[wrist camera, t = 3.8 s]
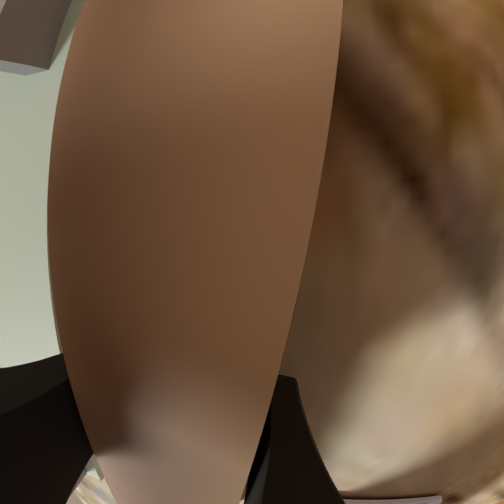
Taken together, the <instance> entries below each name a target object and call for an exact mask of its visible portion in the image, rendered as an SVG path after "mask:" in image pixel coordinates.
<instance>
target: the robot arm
mask: <svg viewBox="0 0 504 504" xmlns="http://www.w3.org/2000/svg"><path fill="white" fill-rule="evenodd" d="M93 454H94V452H93V450H92V447H91V444H90V442H89V439H88V437H87V434H86V431H85V428H84V425H83V423H82V420H81V417H80V414H79V411H78V407H77V404H76V401H75V398H74V394H73V391H72V387H71V383H70V380H69V376H68V372H67V368H66V364H65V360H64V355H63V353H61V354H58V355H54V356H51V357H48V358H45V359H42V360H38V361H35V362H31V363H26V364H22V365H17V366H12V367H6V368H0V504H66V502H67V500H68V498H69V496H70V494H71V492H72V490H73V488H74V486H75V484H76V482H77V481H78V479H79V477H80V475H81V473H82V472H83V470H84V468H85V466H86V465H87V463H88V461H89V460H90V458H91V457H92V455H93ZM441 502H442V496H430V497H421V498H409V499H390V500H351V499H343V498H342V497H341V495H340V493H339V492H338V490H337V488H336V486H335V485H334V483H333V481H332V479H331V477H330V475H329V473H328V471H327V469H326V467H325V465H324V463H323V461H322V458H321V456H320V454H319V452H318V449H317V447H316V444H315V442H314V439H313V437H312V434H311V431H310V428H309V425H308V422H307V419H306V416H305V413H304V409H303V406H302V402H301V398H300V394H299V389H298V383H297V381H296V379H295V378H292V377H287V376H283V375H278V377H277V380H276V384H275V388H274V392H273V395H272V399H271V402H270V406H269V409H268V413H267V416H266V420H265V423H264V427H263V430H262V434H261V437H260V440H259V444H258V447H257V450H256V453H255V457H254V460H253V463H252V466H251V469H250V472H249V476H248V482H247V488H246V495H245V501H244V504H440V503H441Z"/></svg>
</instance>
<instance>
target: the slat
mask: <svg viewBox="0 0 504 504" xmlns="http://www.w3.org/2000/svg"><path fill="white" fill-rule="evenodd" d="M342 12H343V0H85V1H84V4H83V6H82V9H81V12H80V15H79V18H78V21H77V24H76V27H75V30H74V33H73V36H72V40H71V43H70V47H69V50H68V54H67V58H66V62H65V66H64V70H63V75H62V79H61V84H60V89H59V94H58V99H57V105H56V111H55V118H54V125H53V132H52V141H51V151H50V163H49V178H48V244H49V260H50V272H51V282H52V291H53V299H54V306H55V313H56V319H57V325H58V331H59V336H60V341H61V346H62V351H63V355H64V360H65V364H66V368H67V372H68V376H69V380H70V383H71V387H72V391H73V394H74V398H75V401H76V404H77V407H78V411H79V414H80V417H81V420H82V423H83V425H84V428H85V431H86V434H87V437H88V439H89V442H90V444H91V447H92V450H93V452H94V455H95V457H96V459H97V462H98V464H99V466H100V469H101V471H102V473H103V475H104V478H105V480H106V482H107V484H108V486H109V488H110V490H111V492H112V494H113V496H114V498H115V500H116V502H117V504H239V502H240V499H241V497H242V494H243V491H244V488H245V485H246V482H247V479H248V475H249V472H250V469H251V466H252V463H253V460H254V457H255V453H256V450H257V447H258V444H259V440H260V437H261V434H262V430H263V427H264V423H265V420H266V416H267V413H268V409H269V406H270V402H271V399H272V395H273V392H274V388H275V384H276V380H277V377H278V373H279V369H280V365H281V361H282V358H283V354H284V350H285V346H286V342H287V338H288V334H289V330H290V325H291V321H292V317H293V313H294V308H295V304H296V300H297V295H298V291H299V286H300V282H301V277H302V273H303V268H304V263H305V259H306V254H307V249H308V244H309V239H310V234H311V229H312V224H313V219H314V214H315V208H316V203H317V197H318V192H319V186H320V180H321V175H322V169H323V163H324V157H325V150H326V144H327V138H328V131H329V124H330V117H331V110H332V103H333V95H334V88H335V80H336V71H337V63H338V54H339V44H340V34H341V24H342Z"/></svg>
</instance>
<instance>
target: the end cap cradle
mask: <svg viewBox="0 0 504 504" xmlns="http://www.w3.org/2000/svg"><path fill="white" fill-rule="evenodd" d="M84 1H85V0H0V368H6V367H12V366H17V365H22V364H26V363H31V362H35V361H38V360H42V359H45V358H48V357H51V356H54V355H58V354H61V353H63V351H62V346H61V341H60V336H59V331H58V325H57V319H56V313H55V306H54V299H53V291H52V282H51V272H50V260H49V244H48V178H49V163H50V151H51V141H52V132H53V125H54V118H55V111H56V105H57V99H58V94H59V89H60V84H61V79H62V75H63V70H64V66H65V62H66V58H67V54H68V50H69V47H70V43H71V40H72V36H73V33H74V30H75V27H76V24H77V21H78V18H79V15H80V12H81V9H82V6H83V4H84ZM86 474H88V475H90V476H92V477H93V478H95V479H97V480H99V481H102V479H103V478H104V475H103V473H102V471H101V469H100V466H99V464H98V462H97V459H96V457H95V455H94V454H93V455H92V457H91V458H90V460H89V461H88V463H87V465H86V466H85V468H84V470H83V472H82V473H81V475H80V477H79V479H78V481H77V482H76V484H75V486H74V488H73V490H72V492H71V494H72V493H73V491H74V490H75V489H76V487H77V486H78V484H79V483H80V482H81V480H82V479H83V477H84V476H85V475H86ZM71 494H70V495H71ZM69 497H70V496H69Z"/></svg>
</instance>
